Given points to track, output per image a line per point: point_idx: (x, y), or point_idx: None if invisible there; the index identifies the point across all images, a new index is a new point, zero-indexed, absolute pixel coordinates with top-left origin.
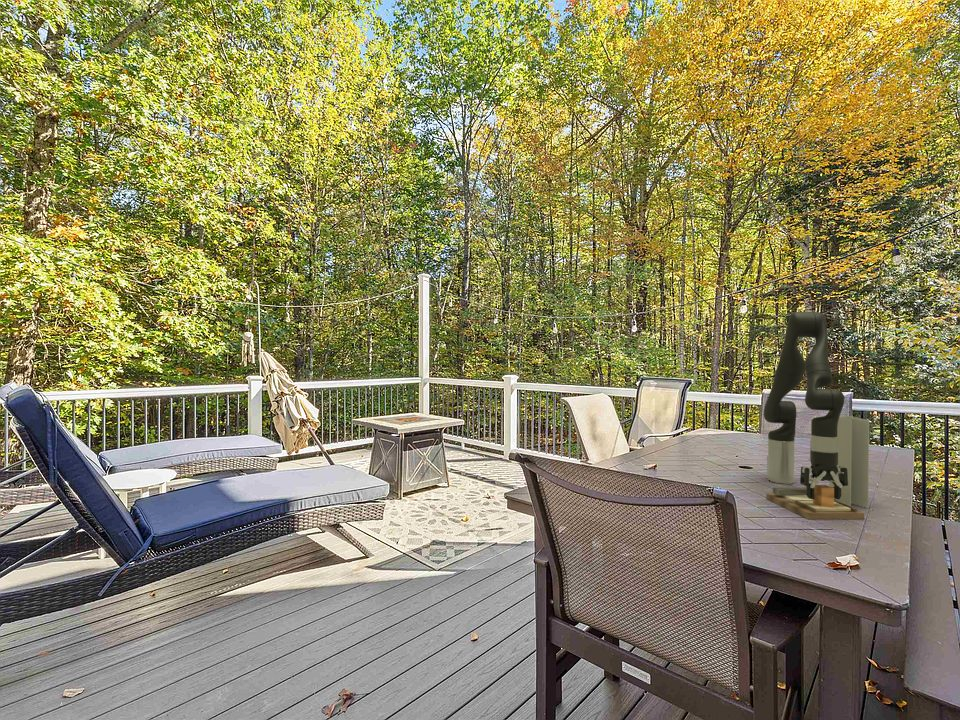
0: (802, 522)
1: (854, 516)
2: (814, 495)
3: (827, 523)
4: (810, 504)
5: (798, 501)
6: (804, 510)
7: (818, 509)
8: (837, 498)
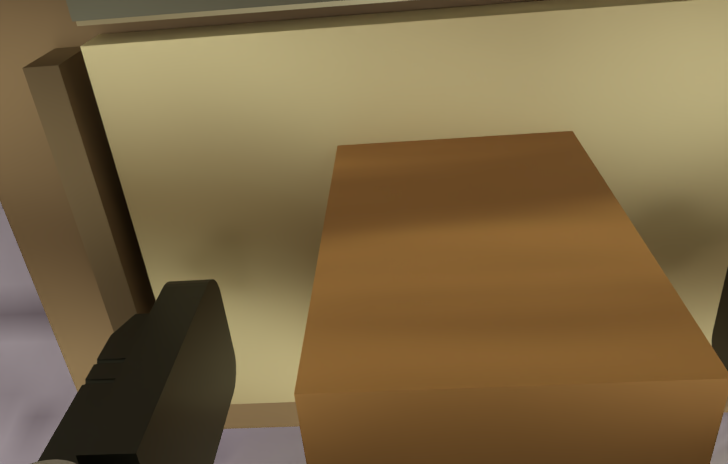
0: (27, 443)
1: None
2: (222, 431)
3: (266, 459)
4: (234, 238)
5: (67, 136)
6: (86, 348)
7: (251, 396)
8: (717, 353)
